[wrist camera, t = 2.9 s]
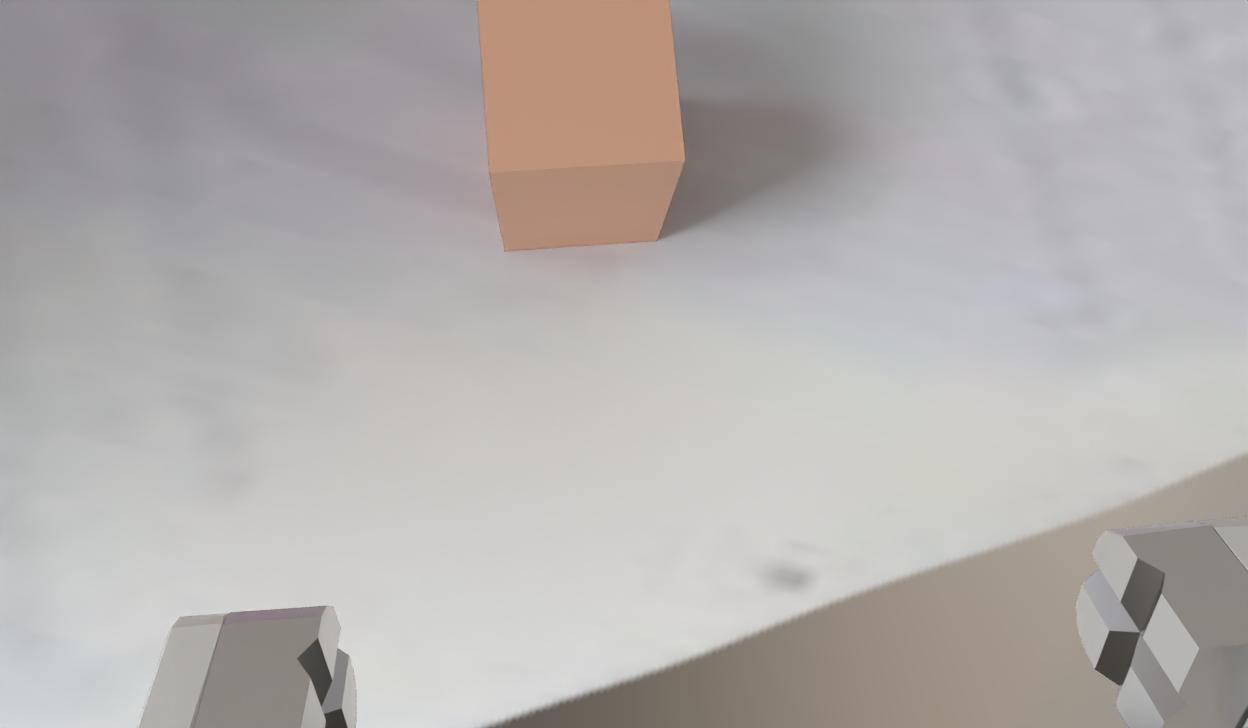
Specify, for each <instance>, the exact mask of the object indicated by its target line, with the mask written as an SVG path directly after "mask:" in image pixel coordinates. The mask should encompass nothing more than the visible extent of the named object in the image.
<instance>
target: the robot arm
mask: <svg viewBox="0 0 1248 728" xmlns="http://www.w3.org/2000/svg"><path fill="white" fill-rule="evenodd" d="M1092 557H1093V558H1094V560H1095V562H1096V563H1097V565H1098V567H1099V568H1100V569H1098V570H1097V571H1096V572H1095V573H1094V574H1092V575H1091V576H1090V577H1089V578H1088V579H1087V580H1086V581H1084V582H1083V583H1082V584H1081V588H1080V591H1079V595H1078V598H1077V602H1076V617H1077V630H1078V633H1079V636H1080V638H1081V642H1082V645H1083V648H1084V650H1085V652H1086V654H1087V656H1088V657H1089V659H1090V661H1091V663H1092V665H1093V667H1094V668H1095V670H1097V671H1098V672H1100V673H1101V674H1103V675H1104V676H1106V677H1107V678H1109V679H1110V680H1112V681H1113V682H1115V683H1116V684H1117V685H1119V688H1118V693H1117V699H1116V703H1115V706H1116V708H1117V709H1118V711H1119V713H1120V715H1121V716H1122V718H1123V720H1124V721H1125V723H1126V725H1127V727H1128V728H1248V517H1247V516H1243V517H1232V518H1222V519H1212V520H1201V521H1197V522H1194V521H1186V522H1177V523H1167V524H1159V525H1150V526H1140V527H1131V528H1121V529H1112V530H1106V531H1105V532H1104V533H1103V534H1102V535H1101V536H1100V537H1099V538H1098V539H1097V541H1096V544H1095V547H1094V550H1093V552H1092ZM339 635H340V625H339V622H338V619H337V616H336V613H335V611H334V608H333V607H331V606H317V607H302V608H288V609H274V610H260V611H245V612H231V613H225V614H212V615H199V616H186V617H180V618H179V619H178V620H177V622H176V623H175V624H174V626H173V627H172V628H171V630H170V631H169V633H168V636H167V639H166V642H165V645H164V648H163V651H162V654H161V657H160V660H159V663H158V666H157V669H156V672H155V675H154V678H153V681H152V684H151V687H150V690H149V693H148V696H147V699H146V702H145V705H144V708H143V711H142V714H141V717H140V720H139V723H138V726H137V728H356V685H355V678H354V671H353V668H352V664H351V661H350V657H349V655H347V654H346V653H344V652H343V651H341V650H340V649H338V641H339Z"/></svg>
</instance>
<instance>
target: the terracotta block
mask: <svg viewBox="0 0 1248 728" xmlns="http://www.w3.org/2000/svg"><path fill="white" fill-rule="evenodd" d="M477 7H478V21H479V35H480V49H481V63H482V77H483V91H484V106H485V120H486V134H487V148H488V162H489V174H490V179H491V184H492V189H493V195H494V200H495V205H496V210H497V215H498V220H499V225H500V231H501V236H502V241H503V246H504V251H516V250H530V249H545V248H560V247H574V246H589V245H604V244H618V243H633V242H648V241H657V240H658V237H659V234H660V231H661V228H662V226H663V223H664V220H665V217H666V214H667V211H668V209H669V206H670V203H671V200H672V197H673V194H674V191H675V189H676V186H677V183H678V180H679V177H680V174H681V172H682V169H683V166H684V163H685V152H684V142H683V132H682V122H681V112H680V102H679V92H678V82H677V73H676V63H675V53H674V43H673V33H672V23H671V13H670V3H669V0H477Z"/></svg>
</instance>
